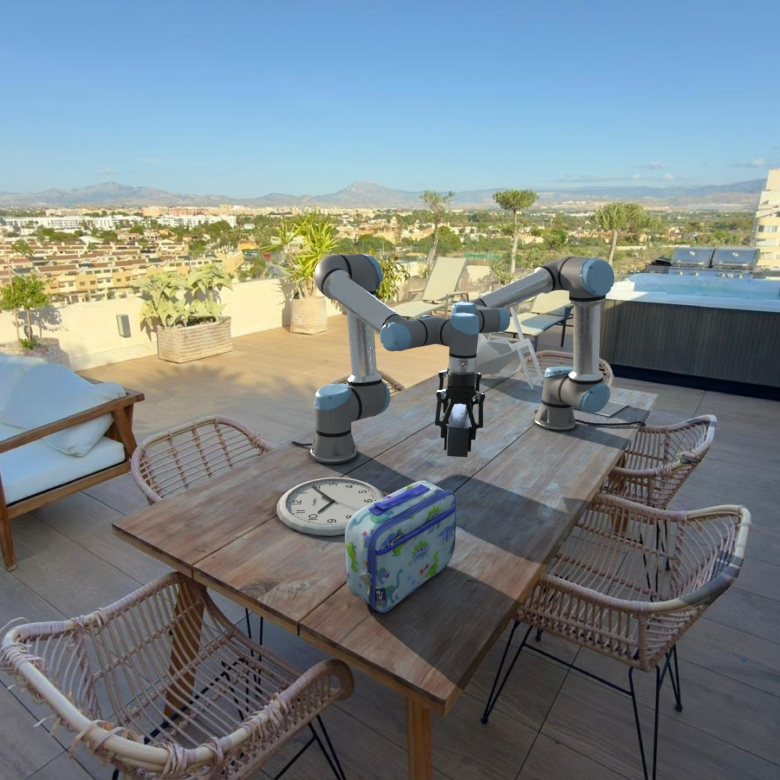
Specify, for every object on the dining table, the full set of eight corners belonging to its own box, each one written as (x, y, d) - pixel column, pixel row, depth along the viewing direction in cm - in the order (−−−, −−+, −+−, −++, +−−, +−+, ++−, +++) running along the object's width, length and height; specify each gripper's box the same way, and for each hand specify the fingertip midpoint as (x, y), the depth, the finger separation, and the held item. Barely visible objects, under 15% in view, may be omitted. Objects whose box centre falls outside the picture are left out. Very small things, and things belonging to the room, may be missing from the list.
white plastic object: (480, 418, 266) (459, 395, 242) (461, 346, 288) (441, 318, 264) (550, 394, 254) (536, 368, 229) (526, 321, 276) (510, 289, 251)
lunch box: (374, 626, 100) (375, 530, 93) (338, 598, 107) (337, 508, 101) (459, 568, 117) (465, 484, 111) (424, 547, 124) (427, 467, 118)
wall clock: (392, 527, 129) (268, 531, 127) (391, 533, 130) (269, 537, 127) (383, 473, 158) (282, 475, 155) (383, 478, 158) (282, 480, 156)
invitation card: (608, 416, 214) (573, 407, 224) (608, 416, 214) (573, 408, 224) (628, 404, 229) (594, 396, 238) (628, 405, 229) (594, 397, 238)
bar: (448, 419, 173) (449, 394, 171) (465, 420, 173) (467, 395, 170) (447, 456, 146) (448, 427, 143) (467, 457, 145) (469, 428, 143)
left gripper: (426, 372, 140) (423, 452, 147) (498, 376, 138) (491, 456, 144) (427, 365, 147) (424, 441, 154) (496, 369, 145) (490, 445, 152)
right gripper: (430, 354, 160) (427, 425, 166) (492, 357, 158) (486, 429, 164) (431, 349, 167) (428, 417, 174) (490, 351, 165) (485, 420, 172)
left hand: (457, 448), depth 149 cm, fingers open, 6 cm apart
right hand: (457, 423), depth 169 cm, fingers closed on bar, 6 cm apart
